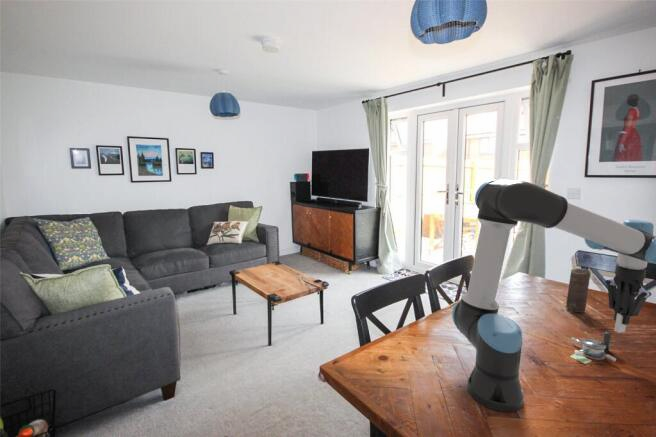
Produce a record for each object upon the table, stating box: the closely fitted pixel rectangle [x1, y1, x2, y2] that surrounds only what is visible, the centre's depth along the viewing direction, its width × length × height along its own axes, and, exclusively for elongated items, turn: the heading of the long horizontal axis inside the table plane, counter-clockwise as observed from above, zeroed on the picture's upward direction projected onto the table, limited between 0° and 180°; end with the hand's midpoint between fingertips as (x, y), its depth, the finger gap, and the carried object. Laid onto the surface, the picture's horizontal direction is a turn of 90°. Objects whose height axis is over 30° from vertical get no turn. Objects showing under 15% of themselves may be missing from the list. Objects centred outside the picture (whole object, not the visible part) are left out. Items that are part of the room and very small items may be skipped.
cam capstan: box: [570, 331, 617, 362], centre depth 119 cm, size 15×17×7 cm
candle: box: [565, 268, 591, 313], centre depth 154 cm, size 8×7×20 cm
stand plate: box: [569, 348, 606, 365], centre depth 119 cm, size 20×13×1 cm, turn 114°
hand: (619, 331), depth 115 cm, fingers closed
